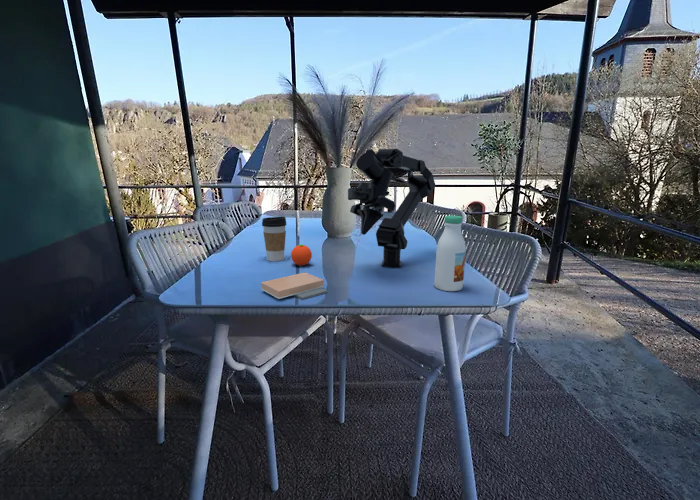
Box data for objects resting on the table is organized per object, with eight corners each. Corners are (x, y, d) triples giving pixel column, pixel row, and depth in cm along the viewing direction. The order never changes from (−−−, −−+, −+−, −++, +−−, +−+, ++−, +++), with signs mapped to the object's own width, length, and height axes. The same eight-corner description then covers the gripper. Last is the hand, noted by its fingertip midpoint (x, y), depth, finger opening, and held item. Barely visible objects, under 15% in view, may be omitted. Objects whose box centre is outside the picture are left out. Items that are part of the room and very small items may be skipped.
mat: (296, 279, 107) (296, 277, 107) (327, 292, 96) (327, 290, 96) (272, 284, 102) (272, 282, 102) (302, 299, 91) (302, 297, 91)
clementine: (288, 262, 125) (288, 242, 123) (308, 260, 127) (307, 241, 125) (293, 268, 117) (293, 247, 116) (314, 266, 120) (314, 246, 118)
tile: (304, 272, 105) (261, 282, 96) (323, 279, 98) (278, 291, 89) (305, 278, 105) (261, 289, 96) (323, 286, 99) (278, 298, 90)
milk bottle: (443, 293, 97) (448, 218, 92) (429, 284, 104) (433, 214, 99) (468, 290, 99) (474, 217, 94) (452, 281, 106) (458, 213, 101)
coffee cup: (285, 262, 125) (283, 219, 121) (260, 262, 125) (258, 219, 121) (289, 256, 133) (288, 215, 129) (266, 256, 133) (264, 215, 129)
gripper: (343, 181, 115) (328, 226, 113) (370, 167, 98) (352, 220, 96) (373, 196, 120) (358, 239, 117) (403, 184, 102) (387, 235, 100)
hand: (363, 234), depth 107 cm, fingers closed
